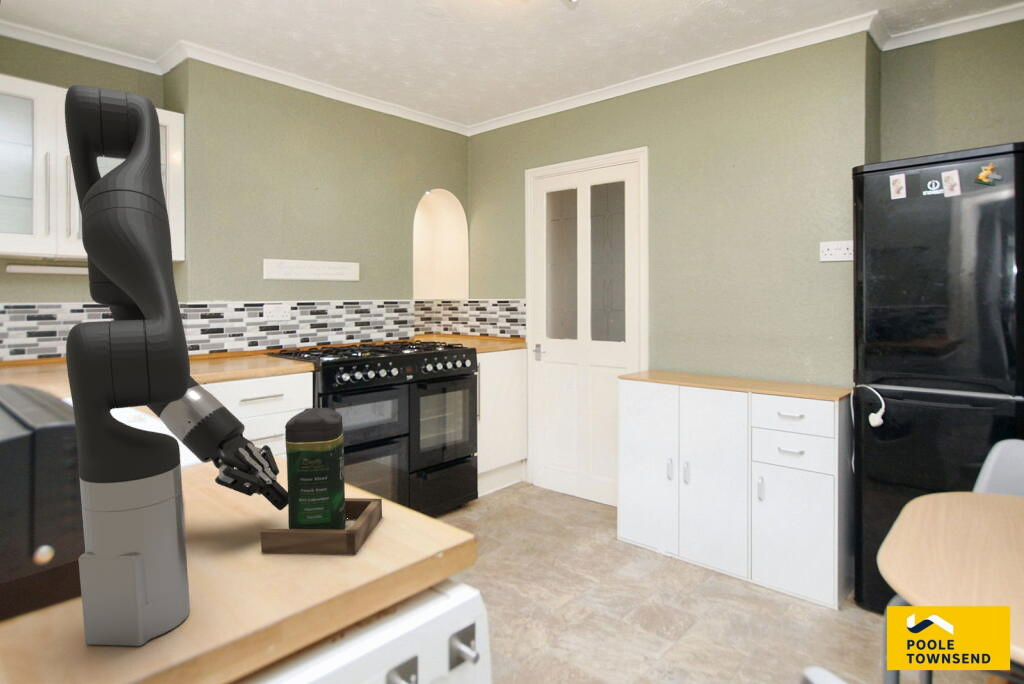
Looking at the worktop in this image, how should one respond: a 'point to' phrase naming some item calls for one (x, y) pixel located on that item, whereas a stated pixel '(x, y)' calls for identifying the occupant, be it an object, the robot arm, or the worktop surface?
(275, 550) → the wooden u-shaped frame
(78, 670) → the worktop surface
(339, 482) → the coffee jar
